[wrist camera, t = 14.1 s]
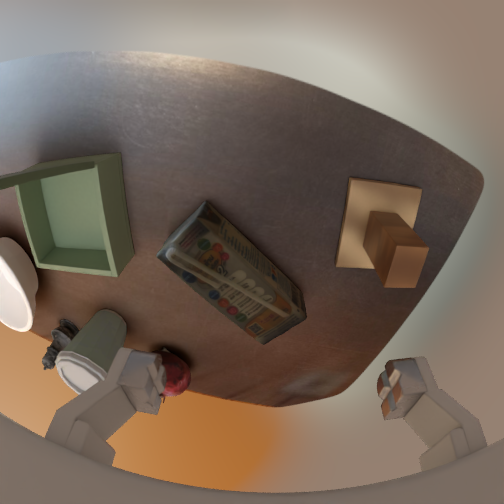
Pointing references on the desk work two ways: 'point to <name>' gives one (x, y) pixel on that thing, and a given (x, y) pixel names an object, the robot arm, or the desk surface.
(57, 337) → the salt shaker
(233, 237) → the beverage carton
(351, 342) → the desk surface
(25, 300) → the bowl
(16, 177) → the lid
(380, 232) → the brown wooden block
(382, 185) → the board
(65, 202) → the green box base
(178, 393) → the fruit
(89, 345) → the disposable coffee cup
